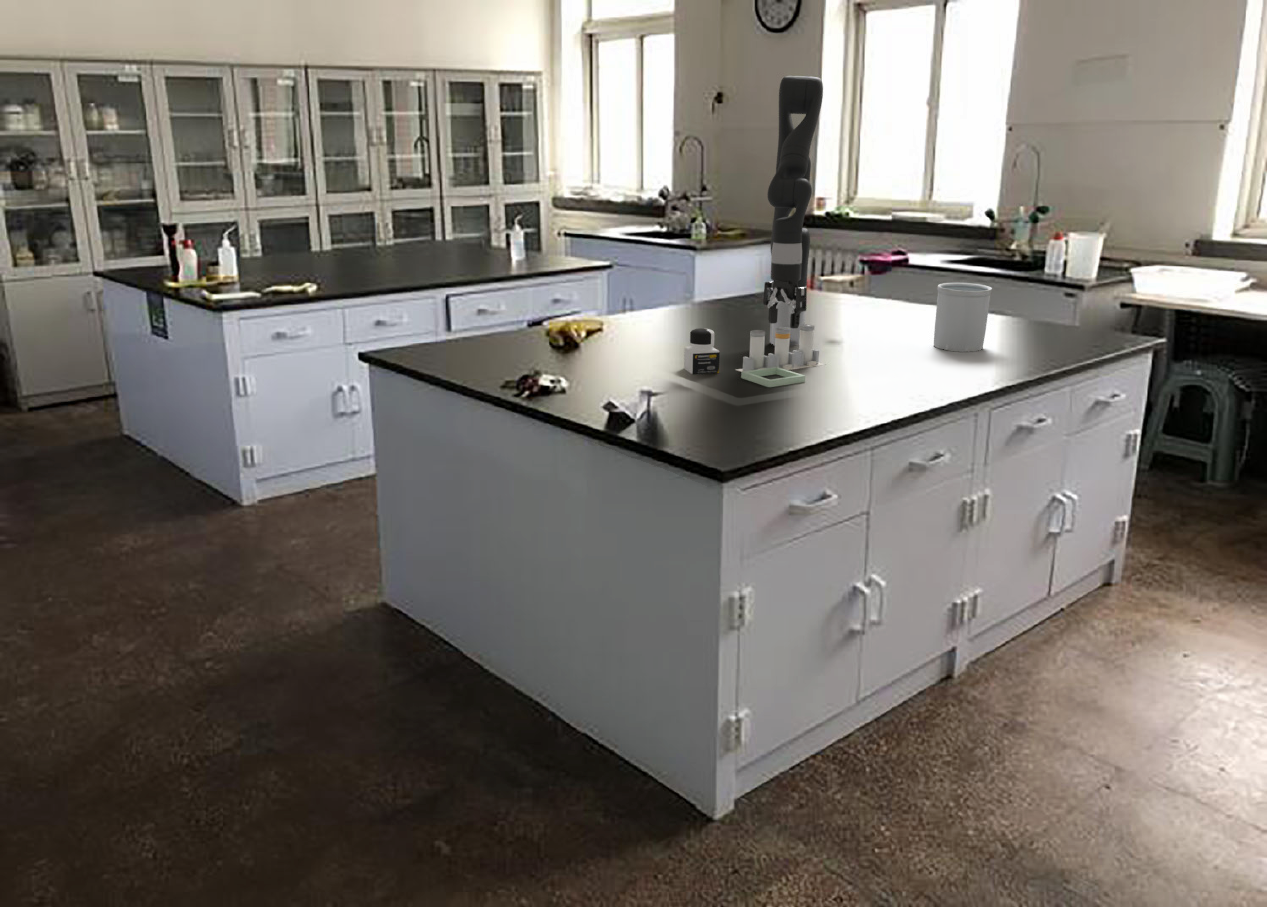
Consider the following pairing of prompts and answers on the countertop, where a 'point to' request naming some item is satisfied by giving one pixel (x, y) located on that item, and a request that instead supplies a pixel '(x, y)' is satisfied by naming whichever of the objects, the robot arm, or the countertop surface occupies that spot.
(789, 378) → the tray
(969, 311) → the utensil holder
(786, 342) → the fuse marked
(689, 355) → the medicine bottle
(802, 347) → the white capsule
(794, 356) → the holder
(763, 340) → the cylinder
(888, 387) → the countertop surface
